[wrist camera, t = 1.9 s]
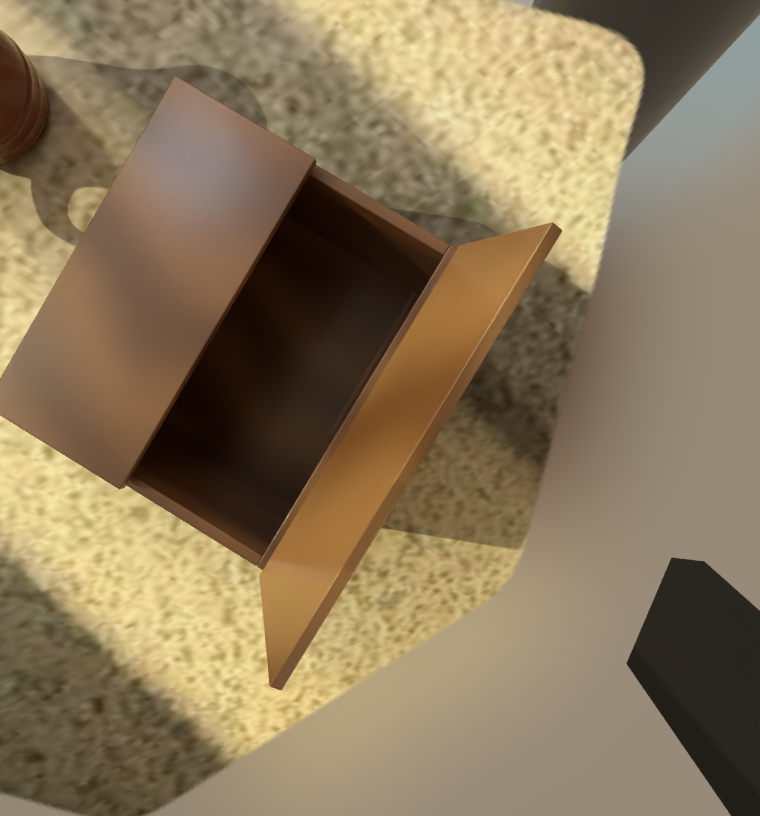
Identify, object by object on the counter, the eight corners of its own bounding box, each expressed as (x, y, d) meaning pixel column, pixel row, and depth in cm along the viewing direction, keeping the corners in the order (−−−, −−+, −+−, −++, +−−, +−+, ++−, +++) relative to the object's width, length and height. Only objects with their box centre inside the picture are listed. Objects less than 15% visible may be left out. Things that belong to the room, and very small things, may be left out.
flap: (552, 221, 14) (563, 230, 15) (459, 244, 20) (467, 250, 21) (269, 687, 15) (281, 691, 15) (259, 575, 21) (268, 579, 21)
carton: (254, 188, 32) (174, 72, 21) (441, 300, 32) (463, 245, 20) (127, 404, 33) (-19, 405, 21) (310, 517, 32) (261, 579, 21)
